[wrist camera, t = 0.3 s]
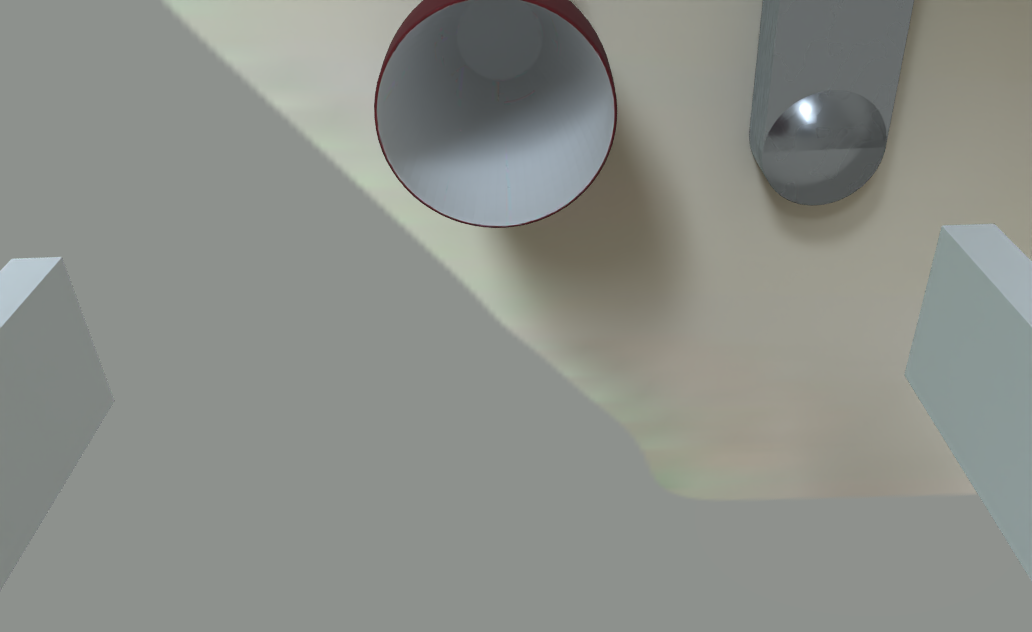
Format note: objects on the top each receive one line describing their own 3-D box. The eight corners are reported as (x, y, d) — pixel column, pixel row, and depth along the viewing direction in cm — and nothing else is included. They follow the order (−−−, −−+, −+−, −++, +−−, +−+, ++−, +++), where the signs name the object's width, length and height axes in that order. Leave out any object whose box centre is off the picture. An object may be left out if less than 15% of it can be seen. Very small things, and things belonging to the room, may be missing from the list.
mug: (376, -123, 34) (331, -79, 26) (584, -148, 34) (608, -112, 25) (421, 135, 40) (396, 239, 31) (600, 116, 39) (623, 218, 31)
